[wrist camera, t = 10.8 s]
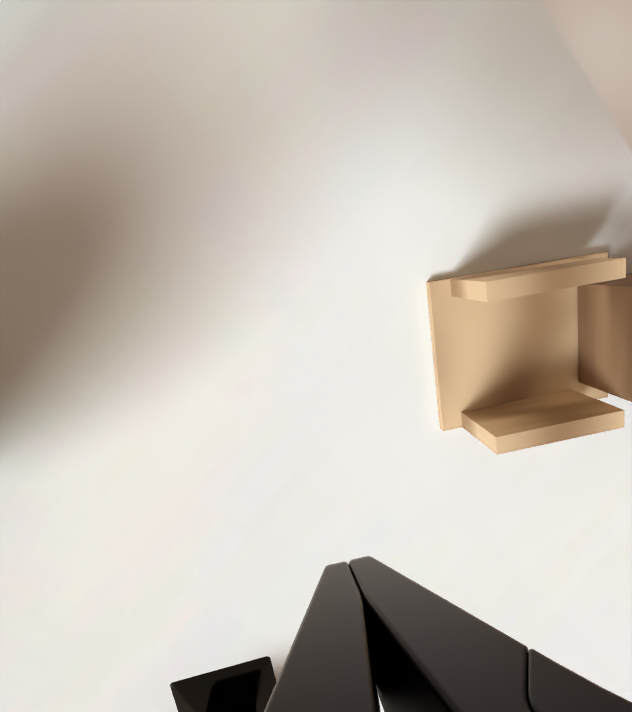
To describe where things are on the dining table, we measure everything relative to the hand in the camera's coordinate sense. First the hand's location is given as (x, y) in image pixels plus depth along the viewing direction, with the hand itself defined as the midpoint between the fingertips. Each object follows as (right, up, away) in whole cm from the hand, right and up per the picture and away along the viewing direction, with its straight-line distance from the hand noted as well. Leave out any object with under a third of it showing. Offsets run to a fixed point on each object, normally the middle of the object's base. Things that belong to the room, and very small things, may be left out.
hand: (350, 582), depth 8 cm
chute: (+10, +5, +14) cm, 17 cm away
